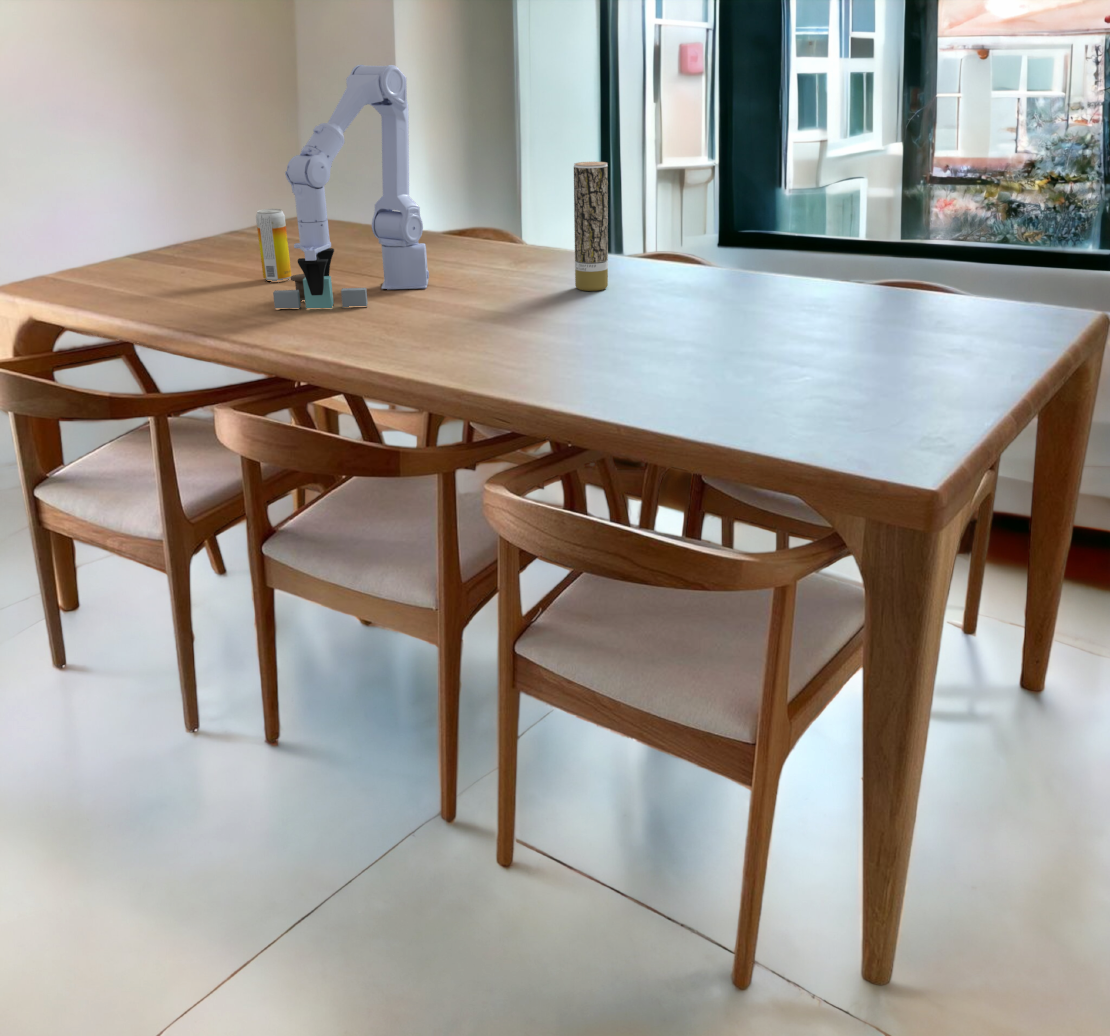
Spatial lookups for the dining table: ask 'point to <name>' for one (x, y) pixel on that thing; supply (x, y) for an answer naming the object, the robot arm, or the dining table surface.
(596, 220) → the paper tube
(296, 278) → the bobbin
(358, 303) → the grey bricks
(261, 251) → the beer can
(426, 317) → the dining table surface
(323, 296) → the block
